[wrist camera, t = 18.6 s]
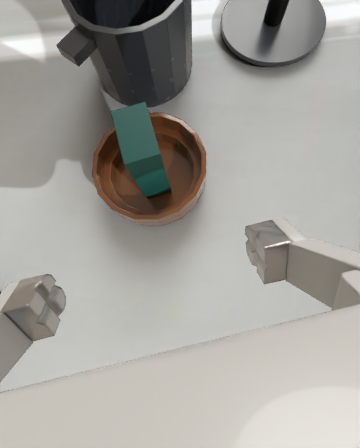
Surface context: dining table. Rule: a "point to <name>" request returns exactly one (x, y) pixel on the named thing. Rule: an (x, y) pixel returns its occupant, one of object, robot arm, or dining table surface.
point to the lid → (272, 30)
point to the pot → (133, 46)
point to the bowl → (174, 165)
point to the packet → (141, 149)
